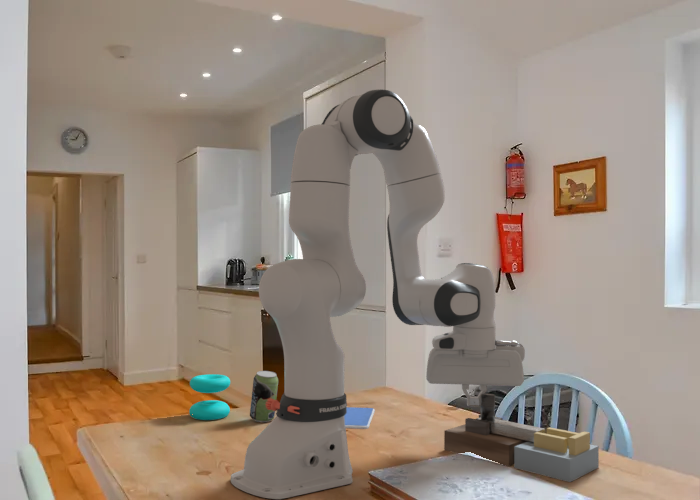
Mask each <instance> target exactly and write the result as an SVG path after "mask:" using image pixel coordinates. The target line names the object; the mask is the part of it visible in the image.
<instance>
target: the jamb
mask: <svg viewBox="0 0 700 500" xmlns="http://www.w3.org/2000/svg"><path fill="white" fill-rule="evenodd" d="M480 417H481V413H480V414H478V418H480ZM495 419H499V420H503V418H502V417H498V416H495ZM464 422H465V424H463V425H458V426H455V427H452V428H451V427H450V428H448V429H444V431H443V433H444V434H443V435H444V438H443V439H444V441H443V442H444V445H443V447H444V448H443V449H444V451H447V452H451V453H455V454H458V453H465V452H471V453H474V454H476V455H479V456H481V457H483V458H486V459H489V460H492V461H495V462H498V463H500V464H499V465H501V464H503V466H505V465H506V467H511V466H514V447H515V446H517V445H520V444H522V443H525V442H528V441H526V440H522V439H517V438H513V437H508V436H503V435H499V434H494V433H490V432H489V422H486V421H482V420H477V419H476V418H471V417H467V418H465V420H464Z"/></svg>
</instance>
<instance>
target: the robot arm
mask: <svg viewBox="0 0 700 500" xmlns="http://www.w3.org/2000/svg"><path fill="white" fill-rule="evenodd" d="M296 140H297V141H296V145H295V150H294V154H293V158H292V159H293V161H292V166H291V168H292V169H291V173H290V174H291V176H290V177H291V178H290V190H289V193H290V194H289V210H288V212H289V213H288V223H289V227H290V230H291V231H292V232H293V233H294V235H295V236H296V237H297V239H298V243H299V246H300V249H301V255H302V258H290V259H288V260H284V261H280V262H278V263H275V264H272V265H271V266H269V267H268V268H267V269H266V270H265V271H264V272H263V274H262V276H261V277H260V279H259V285H258V297H259V301H260V303H261V306H262V308H263V309H264V310H265V311H266V312H267V313H268V314H269V315H270V316H271V318H272V319H273V321H274V323H275V325H276V328H277V331H278V333H279V337H280V341H281V345H282V351H283V359H284V360H283V363H284V365H283V366H284V367H283V368H284V370H283V371H284V379H283V380H284V383H283V384H284V386H283V387H284V392H283V394H282V395H281V398H280V401H279V400H278V399H276V400H274V399H272V398H269V399H268V400H267V402H266V403H268V404H265V405H266V408H267V409H268V410H273V411H275V415H276V416H275V417H274V418H273V419H272V421H271V422H270V423H269V424H268V425H267V426H266V427H265V428H264V429H263V430H262V431H261V432H260V433H259V434H258V435H257V436H256V437H255V438H254V439H253V440H252V441H251V442H250V443H249V444H248V446H247V448H246V453H245V456H244V464H243V469H241V470H238V471H235V472H234V473H232V474H231V475H230V484H232V486H234V487H235V488H236V489H239V490H241V491H243V492H245V493H247V494H250V495H253V496H256V497H260V498H264V499H270V500H271V499H272V500H283V499H287V498H292V497H297V496H301V495H306V494H310V493H315V492H319V491H323V490H328V489H332V488H337V487H342V486H345V485H350V484H352V483H353V475H352V474H353V467H352V463H351V459H350V454H349V447H348V445H349V444H348V439H347V438H348V437H347V431H346V430H347V428H345V417H344V415H345V414H346V413H347V407H348V402H347V394H346V393H345V358H346V357H345V353H344V349H343V348H342V347H341V345H340V344H338V342H337V340H336V339H335V338H336V337H335V335H334V332H333V328H332V324H331V318H333V317H335V318H336V317H340V316H341V317H342V316H344V315H346V314H348V313H350V312H351V311H354V310H355V309H357V308H358V307H359V306H361V304H362V303H363V301H364V299H365V297H366V291H367V283H366V280H365V276H364V275H363V273H362V272H361V271H360V269H359V267H358V266H357V263H356V260H355V259H356V258H355V255H354V251H353V246H352V240H351V235H350V225H349V224H350V193H351V169H352V164H353V161H354V159H355V157H356V156H359V155H368V154H373V155H374V156H375V157H376V158H377V160H378V161H379V163H380V164H381V167H382V168H383V173H384V179H385V183H386V188H387V193H388V200H389V213H388V216H387V219H386V220H387V222H386V227H387V240H388V241H387V242H388V248H389V256H390V262H391V270H392V279H393V280H392V281H393V282H392V285H393V287H392V301H391V302H392V307H393V311H394V313H395V316H396V317H397V318H398V319H399V321H401V322H402V323H404V324H405V325H409V326H424V325H425V326H433V327H444V328H445V327H447V328H449V327H451V328H452V331H449V332H446V333H444V334H443V333H442V334H439V335H436V336H434V337H433V338H432V341H431V343H432V347H433V348H432V349H431V350H430V352H429V353H428V358H427V364H426V372H425V373H426V376H425V377H426V381H427V382H428V383H429V384H430V385H431V384H432V385H434V384H435V385H460V386H461V390H462V392H463V393H464V396H465V397H466V405H467V407H479V408H481V394H487V391H488V386H502V387H503V386H505V387H521V386H522V385H523V384H524V382H525V377H524V376H525V375H524V366H523V361H524V360H525V354H526V353H525V352H526V351H525V347H524V345H523V344H522V343H519V342H518V341H516V340H510V341H509V340H496V322H495V318H494V314H495V309H496V285H495V279H494V278H495V277H494V275H493V272H492V270H491V268H489V266H486V265H485V264H484V265H483V264H478V263H473V262H472V263H471V262H463V263H458V264H457V265H456V266H455V269H453V270H452V271H451V272H450V273H448V274H447V275H445V276H443V277H440V278H439V279H438V278H437V279H427V278H425V277H424V275H423V274H422V272H421V264H420V255H419V247H418V237H419V234H420V232H421V229H422V228H423V227H424V226H425V225H426V224H427V223H429V222H431V221H432V220H433V219H434V218H435V217H436V216H437V215H438V214H439V213H440V211H441V209H442V208H443V206H444V203H445V198H446V197H445V193H446V192H445V184H444V180H443V176H442V172H441V168H440V163H439V160H438V158H437V154H436V151H435V149H434V146H433V143H432V141H431V138H430V135H429V134H428V132H427V130H426V129H425V128H424V127H423V126H422V125H420V124H418V123H415V122H414V119H413V117H412V116H411V115H410V111H409V109H408V106H407V105H406V104H405V102H404V100H403V99H402V98H401V97H400V96H399V95H398V94H397V93H395V92H394V91H392V90H389V89H388V90H387V89H372V90H369V91H366V92H364V93H361V94H358V95H354V96H352V97H351V96H350V98H347V99H346V100H344V101H343V102H341V103H338V104H337V105H335V106H334V107H332V108H331V109H330V110H329V112H328V113H327V114H326V116H325V117H324V118H323V121H322V123H321V124H315V125H313V124H312V125H311V126H307V127H305V129H303V130H302V131H301V132H300V133H299V135H298V138H297V139H296ZM470 385H471V386H479V390H480V391H479V393H478V395H477V396H471V395H470V393H469V392H468V391H469V389H470Z"/></svg>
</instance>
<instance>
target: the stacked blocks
mask: <svg viewBox="0 0 700 500" xmlns="http://www.w3.org/2000/svg"><path fill="white" fill-rule="evenodd" d="M599 457H600V456H599V445H596V444H595V445H594V444H591V432H589V431H581V432H575V431H569V430H565V429H560V428H554V427H547V428H546V432H545V433H540V432H535V433H534V442H531V441H528V442H525V443H522V444H520V445H517V446H515V447H514V464H513V466H514V467H513V468H514V469H517V470H522V471H524V472H525V471H526V472H528V473H533V474H536V475H541V476H545V477H549V478H553V479H555V480H560V481H564V482H568V483H571V482H573V481H575V480H577V479H579V478H581V477H583V476H585V475H587V474H589V473H590V472H592V471H594V470H597V469H598V468H599V466H600V465H599V463H600V461H599Z"/></svg>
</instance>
